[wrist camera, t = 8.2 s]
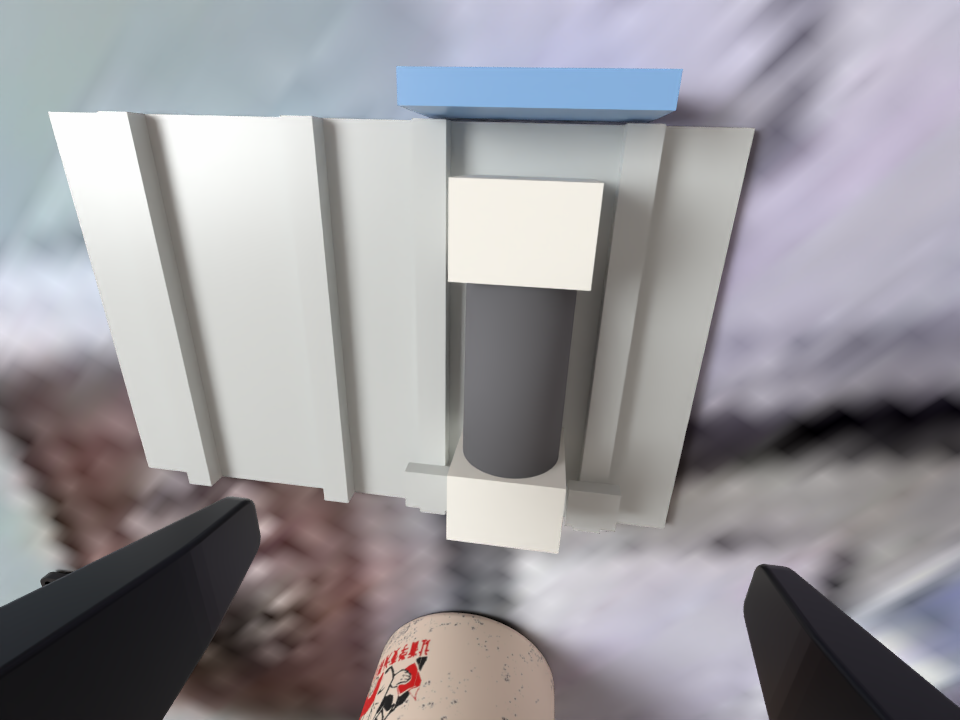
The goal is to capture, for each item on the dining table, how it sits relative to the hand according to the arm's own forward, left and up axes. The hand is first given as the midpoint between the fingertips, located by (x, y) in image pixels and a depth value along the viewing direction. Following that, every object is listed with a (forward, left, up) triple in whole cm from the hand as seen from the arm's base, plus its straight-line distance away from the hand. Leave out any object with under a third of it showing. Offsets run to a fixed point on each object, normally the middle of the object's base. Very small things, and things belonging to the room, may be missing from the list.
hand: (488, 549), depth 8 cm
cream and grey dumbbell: (0, 0, -9) cm, 9 cm away
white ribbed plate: (0, +5, -10) cm, 11 cm away
